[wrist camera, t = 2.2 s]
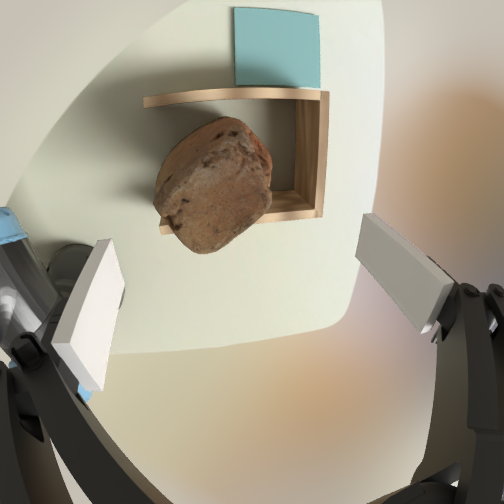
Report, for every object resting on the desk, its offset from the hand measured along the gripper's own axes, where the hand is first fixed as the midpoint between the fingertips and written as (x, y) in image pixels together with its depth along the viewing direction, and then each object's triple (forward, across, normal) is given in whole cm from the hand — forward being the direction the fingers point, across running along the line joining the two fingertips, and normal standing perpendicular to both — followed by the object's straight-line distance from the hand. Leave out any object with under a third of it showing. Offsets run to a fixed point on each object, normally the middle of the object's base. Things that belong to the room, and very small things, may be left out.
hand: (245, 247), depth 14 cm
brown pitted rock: (+27, 0, 0) cm, 27 cm away
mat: (+27, +10, +15) cm, 32 cm away
